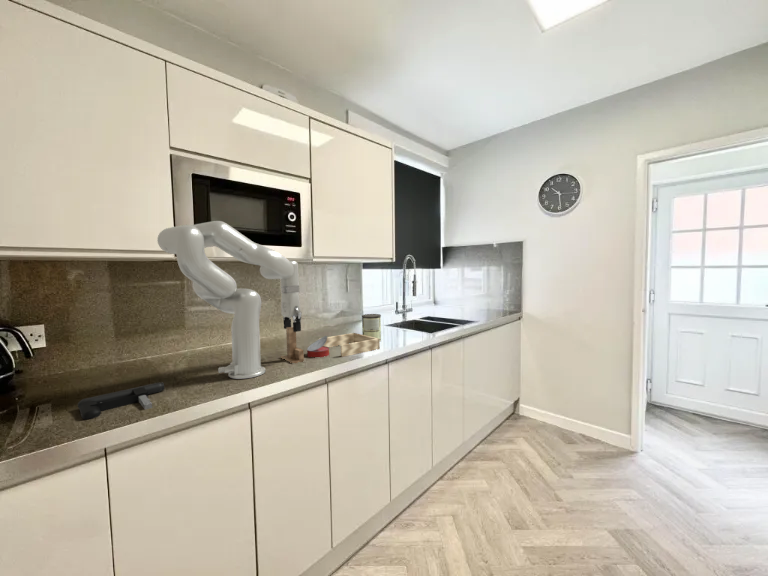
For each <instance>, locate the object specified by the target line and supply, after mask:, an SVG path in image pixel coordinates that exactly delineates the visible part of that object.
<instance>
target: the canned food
mask: <svg viewBox="0 0 768 576" xmlns="http://www.w3.org/2000/svg"><path fill="white" fill-rule="evenodd" d="M327 337H328V336H327V335H325V336H322V337H320V339H319V338H318V339H316V341H314V342H312V343H311V344H310V345H309V346H308V347H307V349H306V351H307V352H306V355H307V357H308V358H311V357H320V358H325V357H328V356H330V347H326V346H323V345H324V344H325V343H326V341H327ZM324 356H325V357H324Z"/></svg>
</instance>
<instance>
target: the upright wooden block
mask: <svg viewBox="0 0 768 576" xmlns="http://www.w3.org/2000/svg"><path fill="white" fill-rule="evenodd" d="M285 330H286V355H281V356H280V359H281V358H282V359H281V360H283V359H285V360H287V361H289V362H291V363H295V364H299V363H298V362H300V363H304V362H303V361H305V357H304V354H305V353H304V349H302V348H299V347H298V346H297V332H293V326H291V327H288V328H286V329H285ZM285 360H284V361H285ZM287 361H286V362H287ZM289 362H288V363H289ZM291 363H290V364H291Z"/></svg>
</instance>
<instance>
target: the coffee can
mask: <svg viewBox="0 0 768 576" xmlns="http://www.w3.org/2000/svg"><path fill="white" fill-rule="evenodd" d="M381 317H382V315H381V314H379V313H365V314H362V315H361V323H362V324H361V329H362V331H361V332H362V334H361V335H366V336H370V337H374V338H379V339H380V342H381V341H382V326H381V325H382V324H381V321H382V319H381Z"/></svg>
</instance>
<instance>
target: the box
mask: <svg viewBox="0 0 768 576" xmlns="http://www.w3.org/2000/svg"><path fill="white" fill-rule="evenodd" d="M320 338H321V337H320ZM320 338H318V339H320ZM380 342H381V341H380V339H379V338H374V337H370V336H366V335H362V334H360V333H357V332H352V333H346V334H339V335H333V336H327V341H326V343H325V344H324V345H323V346H326V347H329V348H333V346H334V347H338V345H340V357H348V356H353V355H357V354H363V353H367V352H372V350H373V351H377V350H380V347H381V343H380ZM349 343H350V344H349ZM376 349H377V350H376Z"/></svg>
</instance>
